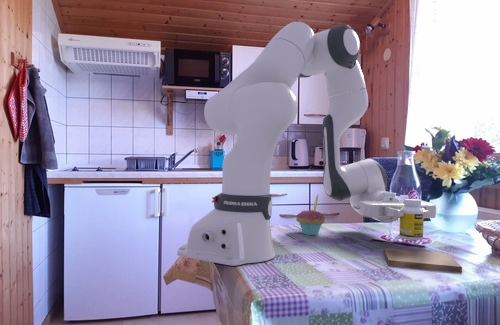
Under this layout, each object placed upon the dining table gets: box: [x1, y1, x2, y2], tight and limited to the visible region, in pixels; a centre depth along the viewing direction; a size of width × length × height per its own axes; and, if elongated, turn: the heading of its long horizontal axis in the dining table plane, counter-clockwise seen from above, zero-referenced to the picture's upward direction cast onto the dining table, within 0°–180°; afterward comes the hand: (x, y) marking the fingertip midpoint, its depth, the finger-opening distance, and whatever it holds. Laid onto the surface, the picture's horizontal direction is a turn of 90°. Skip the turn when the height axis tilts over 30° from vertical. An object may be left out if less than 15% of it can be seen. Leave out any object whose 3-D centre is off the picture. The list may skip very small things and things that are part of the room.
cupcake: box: [295, 194, 326, 236], centre depth 107 cm, size 9×8×12 cm
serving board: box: [383, 247, 463, 273], centre depth 79 cm, size 14×11×1 cm
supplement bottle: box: [399, 198, 425, 241], centre depth 88 cm, size 5×5×10 cm
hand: (413, 214), depth 88 cm, fingers closed on supplement bottle, 5 cm apart
